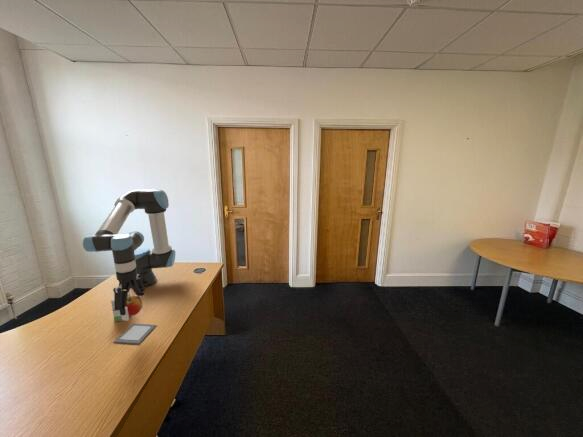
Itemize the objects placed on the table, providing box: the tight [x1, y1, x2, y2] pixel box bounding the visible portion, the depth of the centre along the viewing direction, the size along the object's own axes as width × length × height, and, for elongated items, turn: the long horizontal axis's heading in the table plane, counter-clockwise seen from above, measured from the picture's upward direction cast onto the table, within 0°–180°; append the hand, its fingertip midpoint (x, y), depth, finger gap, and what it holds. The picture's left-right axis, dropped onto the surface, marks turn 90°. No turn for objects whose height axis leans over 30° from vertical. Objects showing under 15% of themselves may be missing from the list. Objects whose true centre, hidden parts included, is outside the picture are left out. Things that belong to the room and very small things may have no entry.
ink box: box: [110, 291, 132, 322], centre depth 118 cm, size 9×5×12 cm, turn 9°
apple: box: [126, 295, 143, 317], centre depth 103 cm, size 8×8×10 cm
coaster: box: [113, 323, 157, 345], centre depth 107 cm, size 12×12×1 cm
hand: (133, 313), depth 104 cm, fingers closed on apple, 8 cm apart
